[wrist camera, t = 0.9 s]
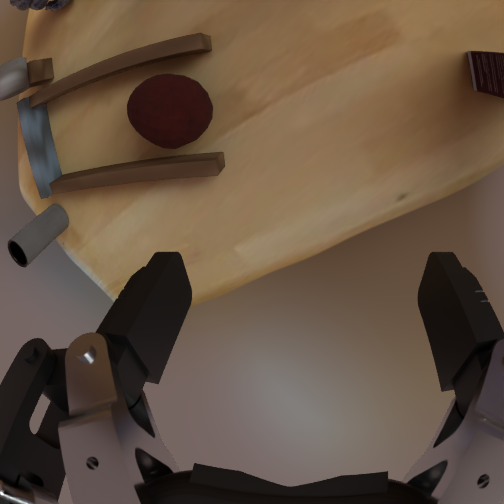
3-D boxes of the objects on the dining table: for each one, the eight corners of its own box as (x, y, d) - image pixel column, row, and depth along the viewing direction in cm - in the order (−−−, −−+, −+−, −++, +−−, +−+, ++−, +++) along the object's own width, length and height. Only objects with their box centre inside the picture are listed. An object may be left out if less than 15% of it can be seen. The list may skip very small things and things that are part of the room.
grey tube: (68, 209, 36) (24, 248, 28) (69, 232, 39) (29, 272, 30) (49, 199, 36) (4, 235, 27) (50, 223, 38) (10, 259, 30)
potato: (152, 67, 24) (115, 70, 18) (228, 82, 24) (207, 84, 19) (140, 130, 28) (105, 147, 23) (210, 147, 29) (186, 168, 23)
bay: (33, 65, 23) (-13, 76, 16) (206, -5, 19) (172, -28, 12) (58, 186, 34) (20, 214, 27) (225, 166, 30) (200, 198, 23)
